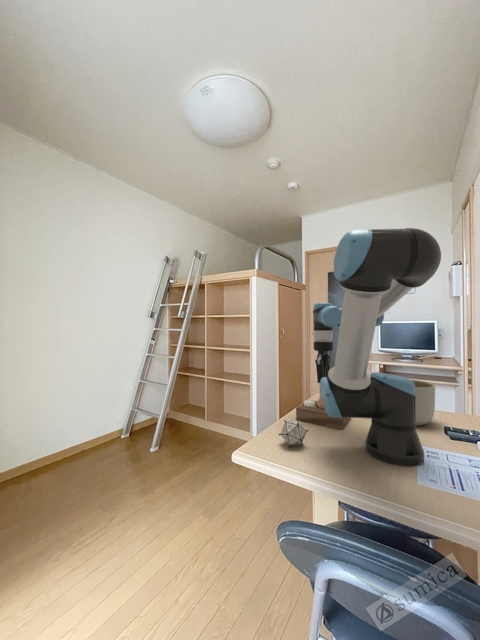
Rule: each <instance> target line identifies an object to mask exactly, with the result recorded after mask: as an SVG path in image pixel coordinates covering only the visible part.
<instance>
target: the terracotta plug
mask: <svg viewBox="0 0 480 640" xmlns="http://www.w3.org/2000/svg"><path fill="white" fill-rule="evenodd" d="M317 401H318V408H322V409H324V405H323V401H322V399H320V397H319V398H317Z"/></svg>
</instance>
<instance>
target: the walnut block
mask: <svg viewBox="0 0 480 640" xmlns="http://www.w3.org/2000/svg"><path fill="white" fill-rule="evenodd" d="M311 400H312V401H315V406H314V407H310V406H304V402H301V404H299V405H298V406H296V407H295V417H296V418H295V420H297V418H298V421H299V422H304V423H309V424H314V425H319V426H325V427H330V428H334V429H340V430H344V429H345V427H347V424H348V423H349V421H351V419H352V418H337V417H330V416H329V415H328V414H327V413H326V411H325V409H322V408H318V400H313V399H311Z"/></svg>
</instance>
